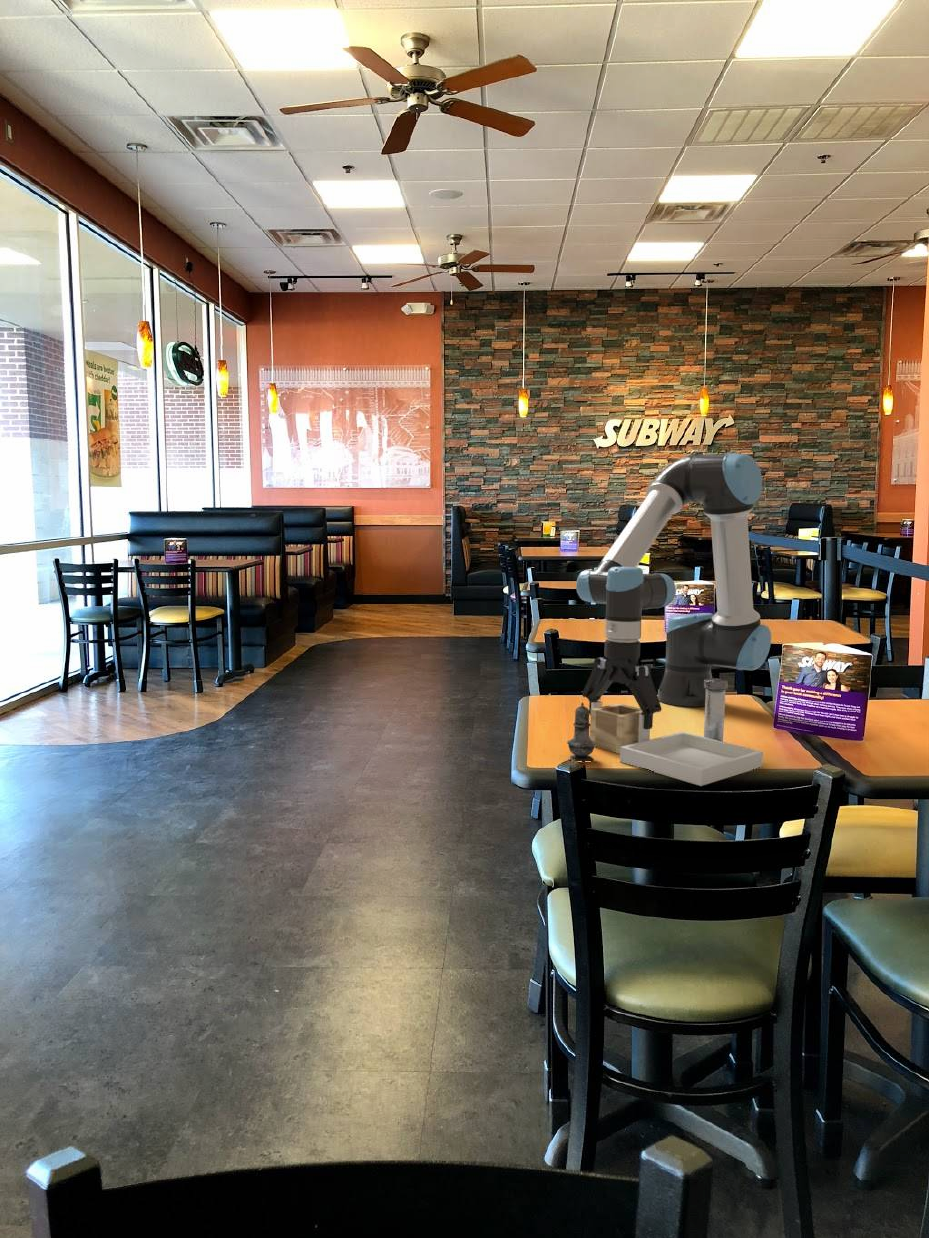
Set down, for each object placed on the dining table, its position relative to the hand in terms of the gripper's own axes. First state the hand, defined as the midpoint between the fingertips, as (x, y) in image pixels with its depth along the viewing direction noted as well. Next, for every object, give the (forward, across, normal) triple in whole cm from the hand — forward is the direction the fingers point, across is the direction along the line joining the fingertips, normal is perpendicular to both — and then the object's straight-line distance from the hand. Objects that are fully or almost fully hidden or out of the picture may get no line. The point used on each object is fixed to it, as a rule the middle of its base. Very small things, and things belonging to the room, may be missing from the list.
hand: (619, 737), depth 201 cm
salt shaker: (+2, +2, -14) cm, 14 cm away
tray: (+2, +18, +1) cm, 18 cm away
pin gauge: (+2, +14, +14) cm, 20 cm away
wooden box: (+2, 0, 0) cm, 2 cm away
